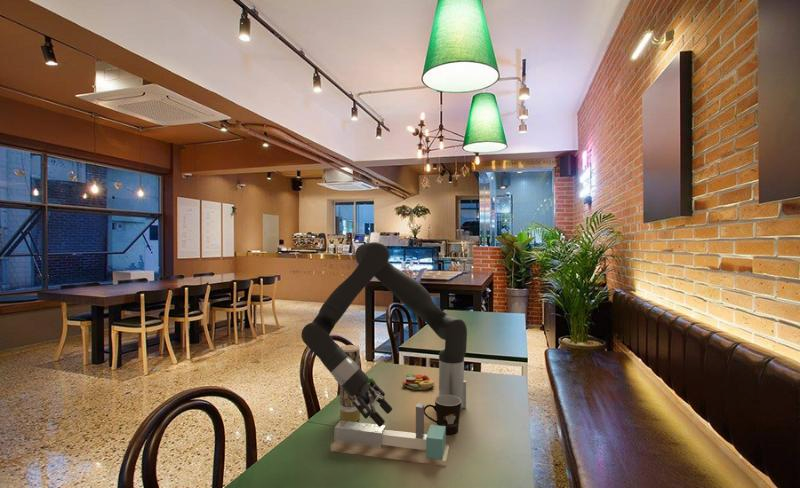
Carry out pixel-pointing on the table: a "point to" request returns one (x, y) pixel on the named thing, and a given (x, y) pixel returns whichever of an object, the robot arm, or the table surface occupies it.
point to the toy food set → (418, 382)
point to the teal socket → (436, 442)
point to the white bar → (408, 434)
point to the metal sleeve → (358, 434)
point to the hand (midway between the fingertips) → (386, 417)
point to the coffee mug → (447, 412)
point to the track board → (392, 453)
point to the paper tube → (346, 402)
